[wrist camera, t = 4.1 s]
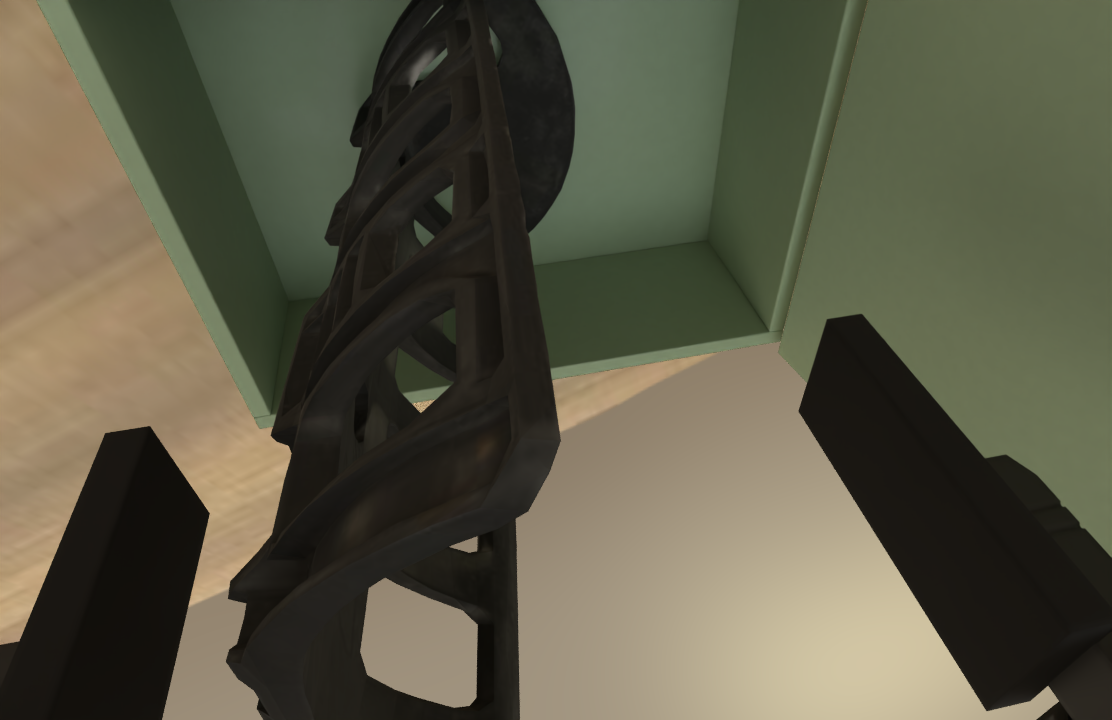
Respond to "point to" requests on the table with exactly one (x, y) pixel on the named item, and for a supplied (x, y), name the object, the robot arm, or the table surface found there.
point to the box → (556, 242)
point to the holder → (417, 328)
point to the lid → (980, 226)
